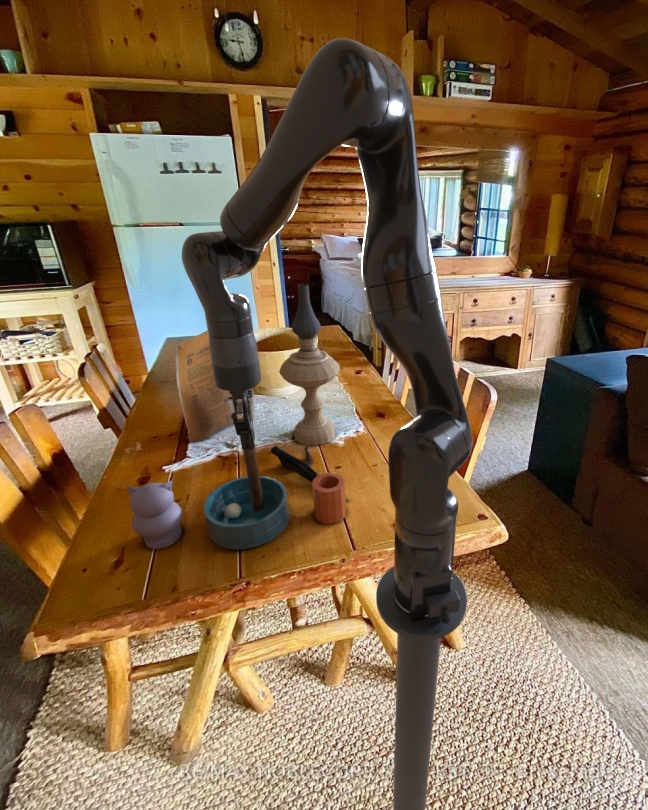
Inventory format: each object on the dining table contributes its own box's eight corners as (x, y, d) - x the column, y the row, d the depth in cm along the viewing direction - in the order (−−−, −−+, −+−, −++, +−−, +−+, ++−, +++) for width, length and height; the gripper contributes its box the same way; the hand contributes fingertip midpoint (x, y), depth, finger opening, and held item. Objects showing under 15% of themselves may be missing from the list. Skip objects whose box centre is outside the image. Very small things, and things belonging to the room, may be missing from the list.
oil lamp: (354, 434, 120) (349, 285, 102) (309, 456, 110) (295, 295, 92) (319, 416, 129) (309, 276, 111) (275, 434, 119) (256, 284, 101)
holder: (348, 521, 89) (347, 489, 85) (316, 526, 87) (313, 494, 84) (343, 501, 94) (342, 470, 91) (313, 506, 93) (310, 475, 89)
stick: (264, 510, 88) (251, 423, 79) (252, 512, 88) (238, 425, 79) (264, 503, 90) (251, 418, 81) (253, 505, 89) (239, 419, 80)
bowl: (291, 543, 83) (288, 518, 80) (204, 558, 80) (198, 533, 77) (287, 493, 96) (285, 471, 94) (213, 504, 93) (208, 481, 90)
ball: (241, 520, 88) (239, 508, 86) (226, 522, 87) (223, 511, 86) (242, 510, 90) (240, 499, 89) (227, 513, 90) (224, 501, 88)
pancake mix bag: (250, 417, 127) (236, 323, 115) (198, 449, 112) (175, 344, 99) (232, 412, 130) (216, 319, 117) (179, 442, 115) (154, 339, 102)
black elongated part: (366, 464, 95) (292, 421, 108) (338, 492, 91) (265, 443, 104) (372, 487, 100) (301, 443, 114) (346, 514, 96) (275, 465, 109)
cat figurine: (132, 555, 80) (114, 503, 74) (144, 526, 87) (128, 476, 81) (183, 548, 82) (169, 496, 76) (190, 519, 89) (178, 470, 83)
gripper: (257, 371, 69) (269, 462, 77) (258, 343, 81) (269, 424, 89) (206, 375, 67) (224, 468, 75) (215, 346, 79) (230, 429, 87)
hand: (248, 444), depth 82 cm, fingers closed on stick, 2 cm apart
